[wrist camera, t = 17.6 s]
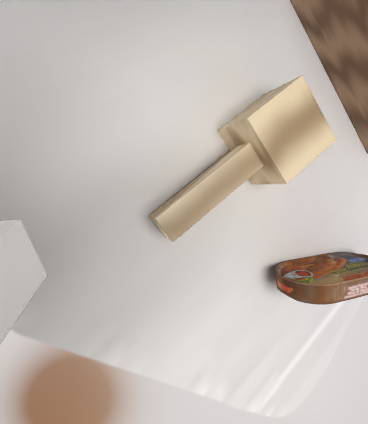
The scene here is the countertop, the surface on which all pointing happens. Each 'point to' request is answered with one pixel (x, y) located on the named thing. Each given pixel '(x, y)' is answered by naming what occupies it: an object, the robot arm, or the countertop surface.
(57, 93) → the countertop surface
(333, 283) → the tin
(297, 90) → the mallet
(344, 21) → the stand
